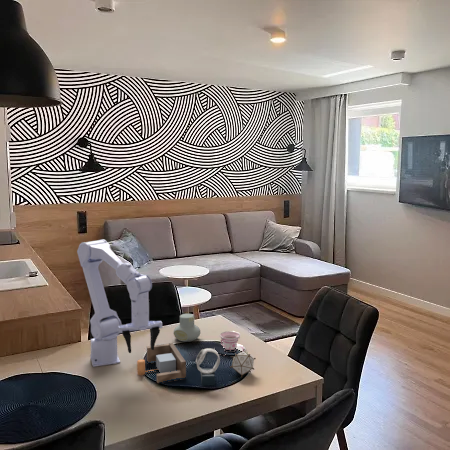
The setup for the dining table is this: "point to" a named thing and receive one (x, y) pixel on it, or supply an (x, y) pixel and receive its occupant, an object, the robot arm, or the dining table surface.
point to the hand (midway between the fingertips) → (141, 350)
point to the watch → (207, 374)
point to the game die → (242, 362)
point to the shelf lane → (179, 359)
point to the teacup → (231, 340)
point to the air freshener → (187, 329)
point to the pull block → (159, 364)
